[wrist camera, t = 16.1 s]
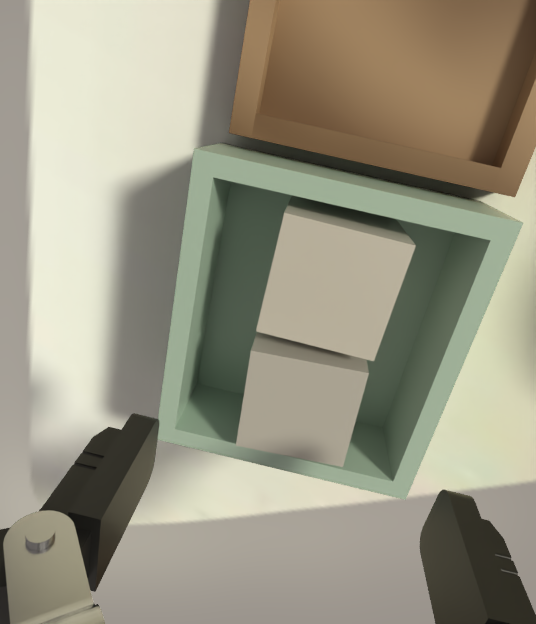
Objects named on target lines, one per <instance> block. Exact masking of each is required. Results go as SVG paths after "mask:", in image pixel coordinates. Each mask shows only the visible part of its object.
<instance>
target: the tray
mask: <svg viewBox="0 0 536 624" xmlns="http://www.w3.org/2000/svg"><path fill="white" fill-rule="evenodd" d="M229 133H231V134H236V135H240V136H245V137H249V138H254V139H258V140H263V141H267V142H272V143H276V144H280V145H285V146H289V147H294V148H298V149H303V150H307V151H312V152H316V153H320V154H325V155H329V156H334V157H338V158H343V159H347V160H352V161H356V162H360V163H365V164H369V165H374V166H378V167H383V168H387V169H392V170H396V171H401V172H405V173H409V174H414V175H418V176H423V177H427V178H432V179H436V180H441V181H445V182H449V183H454V184H458V185H463V186H467V187H472V188H476V189H481V190H485V191H490V192H494V193H498V194H503V195H507V196H512V197H515V196H516V193H517V191H518V189H519V186H520V184H521V181H522V179H523V176H524V174H525V171H526V169H527V167H528V164H529V162H530V159H531V157H532V154H533V152H534V149H535V147H536V0H250V3H249V10H248V16H247V22H246V28H245V35H244V41H243V47H242V53H241V60H240V66H239V72H238V78H237V85H236V91H235V97H234V103H233V110H232V116H231V122H230V128H229Z"/></svg>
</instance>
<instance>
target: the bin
mask: <svg viewBox="0 0 536 624" xmlns="http://www.w3.org/2000/svg"><path fill="white" fill-rule="evenodd" d="M292 195H293V196H297V197H302V198H306V199H311V200H315V201H319V202H324V203H328V204H333V205H337V206H341V207H346V208H350V209H355V210H359V211H363V212H368V213H372V214H376V215H380V216H384V217H388V218H392V219H396V220H397V221H398V222H399V224H400V225H401V226H402V228H403V229H404V230H405V232H406V233H407V234H408V236H409V237H410V238H411V240H412V241H413V242H414V244H415V245H416V247H415V250H414V252H413V255H412V258H411V261H410V263H409V266H408V269H407V272H406V274H405V277H404V280H403V283H402V285H401V288H400V291H399V294H398V296H397V299H396V302H395V305H394V307H393V310H392V313H391V316H390V318H389V321H388V324H387V327H386V329H385V332H384V335H383V338H382V340H381V343H380V346H379V349H378V351H377V354H376V357H375V360H374V361H370V360H367V365H368V371H369V375H368V379H367V382H366V386H365V389H364V393H363V397H362V400H361V404H360V407H359V411H358V415H357V418H356V422H355V425H354V429H353V433H352V436H351V440H350V443H349V447H348V450H347V454H346V458H345V461H344V465H343V467H340V466H335V465H330V464H325V463H320V462H315V461H310V460H305V459H300V458H295V457H290V456H285V455H280V454H275V453H270V452H265V451H260V450H255V449H250V448H246V447H241V446H236V441H237V435H238V428H239V422H240V416H241V410H242V403H243V397H244V391H245V384H246V378H247V372H248V366H249V359H250V353H251V349H252V346H253V343H254V339H255V336H256V333H257V331H256V328H257V324H258V320H259V316H260V312H261V308H262V303H263V299H264V295H265V291H266V287H267V283H268V278H269V274H270V270H271V266H272V262H273V258H274V253H275V249H276V245H277V241H278V237H279V233H280V228H281V224H282V220H283V216H284V212H285V210H286V208H287V205H288V203H289V201H290V198H291V196H292ZM522 225H523V223H522V222H520V221H518V220H516V219H514V218H512V217H511V216H509V215H507V214H505V213H503V212H501V211H499V210H497V209H495V208H493V207H491V206H489V205H487V204H485V203H483V202H481V201H476V200H472V199H468V198H463V197H459V196H454V195H450V194H445V193H441V192H436V191H432V190H428V189H423V188H419V187H414V186H410V185H405V184H401V183H397V182H392V181H388V180H383V179H379V178H374V177H370V176H365V175H361V174H357V173H352V172H348V171H343V170H339V169H334V168H330V167H326V166H321V165H317V164H312V163H308V162H303V161H299V160H294V159H290V158H286V157H281V156H277V155H272V154H268V153H263V152H259V151H255V150H250V149H246V148H241V147H237V146H232V145H228V144H224V143H219V144H214V145H209V146H204V147H199V148H195V149H194V153H193V161H192V168H191V176H190V183H189V191H188V198H187V206H186V213H185V221H184V228H183V235H182V243H181V250H180V258H179V265H178V273H177V280H176V288H175V295H174V303H173V310H172V318H171V325H170V333H169V340H168V348H167V355H166V363H165V370H164V378H163V385H162V392H161V400H160V407H159V415H158V419H159V431H158V439H157V440H161V441H165V442H169V443H173V444H177V445H181V446H186V447H190V448H194V449H198V450H202V451H206V452H210V453H215V454H219V455H223V456H227V457H231V458H235V459H239V460H243V461H248V462H252V463H256V464H260V465H264V466H268V467H272V468H276V469H281V470H285V471H289V472H293V473H297V474H301V475H305V476H310V477H314V478H318V479H322V480H326V481H330V482H334V483H338V484H343V485H347V486H351V487H355V488H359V489H363V490H367V491H371V492H376V493H380V494H384V495H388V496H392V497H396V498H400V499H405V500H406V497H407V495H408V493H409V490H410V488H411V485H412V483H413V481H414V478H415V476H416V474H417V471H418V469H419V467H420V464H421V462H422V460H423V457H424V455H425V453H426V450H427V448H428V446H429V443H430V441H431V438H432V436H433V434H434V431H435V429H436V427H437V424H438V422H439V420H440V417H441V415H442V413H443V410H444V408H445V406H446V403H447V401H448V399H449V396H450V394H451V392H452V389H453V387H454V384H455V382H456V380H457V377H458V375H459V373H460V370H461V368H462V366H463V363H464V361H465V359H466V356H467V354H468V352H469V349H470V347H471V345H472V342H473V340H474V337H475V335H476V333H477V330H478V328H479V326H480V323H481V321H482V319H483V316H484V314H485V312H486V309H487V307H488V305H489V302H490V300H491V298H492V295H493V293H494V291H495V288H496V286H497V283H498V281H499V279H500V276H501V274H502V272H503V269H504V267H505V265H506V262H507V260H508V258H509V255H510V253H511V251H512V248H513V246H514V244H515V241H516V239H517V236H518V234H519V232H520V229H521V227H522Z"/></svg>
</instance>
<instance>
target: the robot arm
mask: <svg viewBox="0 0 536 624" xmlns="http://www.w3.org/2000/svg"><path fill="white" fill-rule="evenodd" d="M158 431H159V419H155V418H151V417H147V416H143V415H138V414H132V415H131V416H130V418H129V419H128V421H127V422H126V424H125V425H124V427H123V428H122V430H119V429H115V428H111V427H108V428H107V429H105V430H103V431H102V432H100V433H99V434H97V435H96V436H94V437H93V438H92V439H91V441H90V442H89V443H88V445H87V446H86V448H85V449H84V450H83V453H82V454H80V456H79V457H78V459H77V460H76V461H75V464H74V465H72V467H71V468H70V470H69V471H68V472H67V474H66V475H65V476H64V478H63V479H62V481H61V482H60V483H59V485H58V486H57V487H56V489H55V490H54V492H53V493H52V494H51V496H50V497H49V499H48V500H47V501H46V503H45V504H44V505H43V507H42V508H41V509H40V510H39V512H35V513H32V514H29V515H27V516H25V517H23V518H21V519H20V520H18V521H17V522H16V523H15V524H14V525H13V526H12V527H10V528H6V529H1V530H0V624H105V621H104V618H103V614H102V611H101V609H100V607H99V605H98V604H97V605H95V604H94V602H93V599H92V595H91V591H96V589H97V587H98V585H99V583H100V581H101V579H102V577H103V575H104V573H105V571H106V569H107V566H108V564H109V562H110V560H111V558H112V556H113V554H114V552H115V550H116V548H117V546H118V544H119V542H120V540H121V538H122V536H123V534H124V532H125V530H126V527H127V525H128V523H129V521H130V519H131V517H132V515H133V513H134V511H135V509H136V507H137V505H138V503H139V501H140V499H141V497H142V495H143V492H144V490H145V488H146V486H147V484H148V482H149V479H150V476H151V473H152V470H153V466H154V461H155V454H156V446H157V439H158ZM420 553H421V558H422V562H423V567H424V572H425V577H426V581H427V586H428V591H429V595H430V600H431V604H432V609H433V614H434V618H435V623H436V624H536V615H535V613H534V610H533V608H532V605H531V603H530V601H529V598H528V596H527V593H526V591H525V589H524V586H523V584H522V581H521V579H520V577H519V576H518V575H517V573H518V572H517V570H516V567H515V565H514V562H513V561H511V555H510V553H509V551H508V548H507V546H506V543H505V541H504V539H503V537H502V536H501V535H500V534H499V532H498V531H497V530H496V529H495V527H494V526H493V525H492V524H491V522H490V521H488V520H484V519H481V517H480V514H479V511H478V509H477V506H476V503H475V501H474V499H473V498H472V497H471V496H468V495H464V494H460V493H456V492H451V491H447V490H442V491H441V492H440V493H439V494H438V496H437V499H436V501H435V503H434V505H433V507H432V509H431V512H430V514H429V516H428V518H427V520H426V522H425V524H424V526H423V529H422V532H421V537H420ZM90 590H91V591H90Z"/></svg>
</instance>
